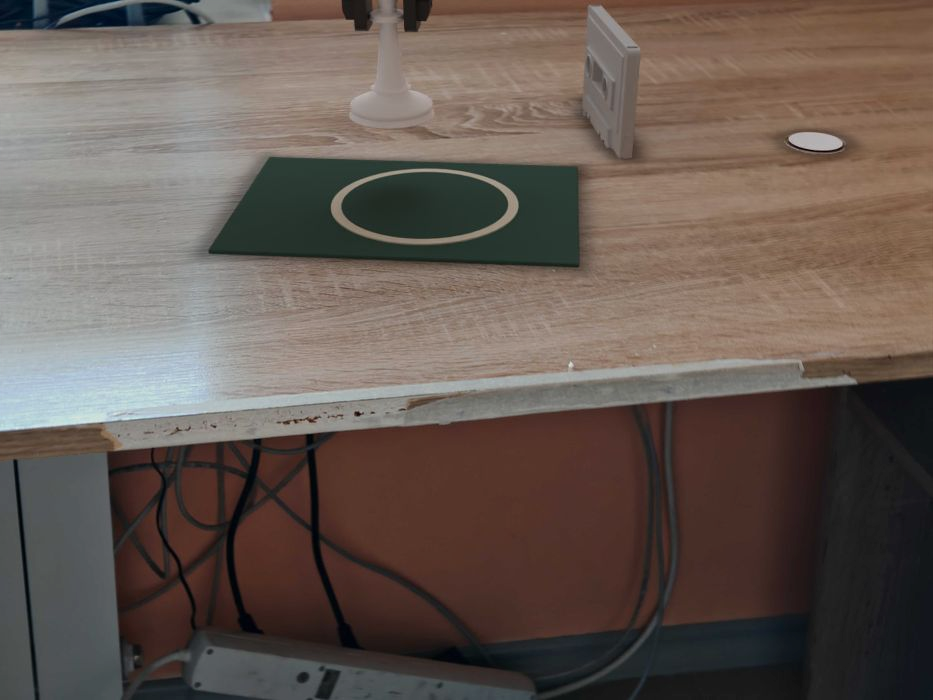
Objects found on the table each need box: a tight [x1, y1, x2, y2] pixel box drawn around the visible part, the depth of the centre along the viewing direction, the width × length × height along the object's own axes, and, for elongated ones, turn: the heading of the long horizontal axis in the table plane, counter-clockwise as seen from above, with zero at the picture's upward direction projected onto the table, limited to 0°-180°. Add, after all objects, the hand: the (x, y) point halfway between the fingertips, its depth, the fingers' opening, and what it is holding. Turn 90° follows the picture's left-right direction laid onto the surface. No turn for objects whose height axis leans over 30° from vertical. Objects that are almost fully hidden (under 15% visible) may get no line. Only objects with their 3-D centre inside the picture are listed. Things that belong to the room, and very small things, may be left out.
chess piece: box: [348, 0, 436, 130], centre depth 60 cm, size 5×5×10 cm
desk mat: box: [207, 156, 580, 268], centre depth 64 cm, size 20×14×1 cm
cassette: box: [581, 4, 642, 160], centre depth 74 cm, size 12×2×8 cm, turn 7°
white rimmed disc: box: [784, 131, 847, 155], centre depth 73 cm, size 4×4×1 cm
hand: (388, 26), depth 60 cm, fingers closed on chess piece
